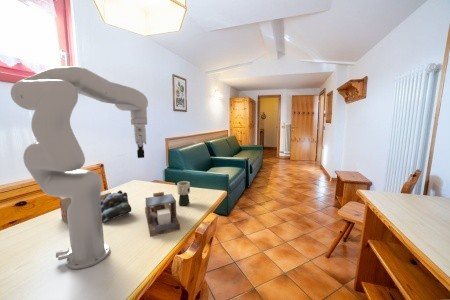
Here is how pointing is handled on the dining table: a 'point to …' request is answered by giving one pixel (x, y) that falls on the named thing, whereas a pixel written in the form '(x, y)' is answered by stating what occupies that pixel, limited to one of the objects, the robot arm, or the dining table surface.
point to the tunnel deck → (151, 214)
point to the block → (163, 216)
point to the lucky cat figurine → (114, 205)
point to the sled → (159, 207)
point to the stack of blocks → (66, 202)
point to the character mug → (183, 192)
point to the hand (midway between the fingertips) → (141, 157)
